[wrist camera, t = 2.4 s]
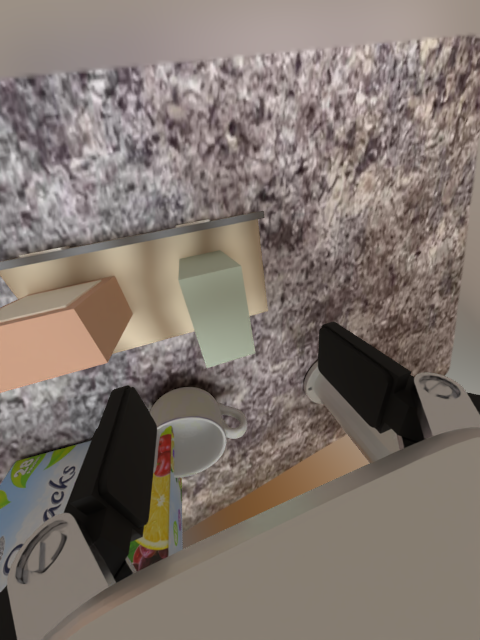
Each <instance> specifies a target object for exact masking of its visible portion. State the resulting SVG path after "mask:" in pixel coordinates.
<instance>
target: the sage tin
mask: <svg viewBox="0 0 480 640" xmlns="http://www.w3.org/2000/svg"><path fill="white" fill-rule="evenodd" d="M178 281H179V284H180V287H181V290H182V293H183V296H184V299H185V302H186V305H187V308H188V312H189V315H190V318H191V321H192V324H193V327H194V330H195V333H196V336H197V339H198V342H199V346H200V349H201V352H202V355H203V358H204V361H205V364H206V367H207V368H209V367H212V366H216V365H219V364H222V363H225V362H229V361H232V360H235V359H238V358H242V357H245V356H248V355H251V354H255V348H254V342H253V336H252V330H251V323H250V317H249V311H248V305H247V299H246V293H245V286H244V280H243V274H242V268H241V265H240V264H238V263H237V262H236V261H234V260H233V259H231V258H230V257H229V256H227V255H226V254H225V253H223V252H222V251H220V250H218V251H214V252H209V253H205V254H200V255H195V256H191V257H186V258H182V259H179V277H178Z"/></svg>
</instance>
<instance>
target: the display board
mask: <svg viewBox="0 0 480 640" xmlns="http://www.w3.org/2000/svg"><path fill="white" fill-rule="evenodd" d="M261 218H264V211H261V212H253V213H248V214H243V215H238V216H233V217H227V218H222V219H217V220H212V221H210V220H209V219H207V220H202V221H196V222H191V223H186V224H181V225H176V228H170V229H165V230H160V231H155V232H150V233H144V234H139V235H134V236H129V237H124V238H119V239H113V240H108V241H103V242H98V243H93V244H87V245H82V246H77V247H72V248H70V247H69V246H66V247H61V248H55V249H50V250H45V251H40V252H34V253H29V254H24V255H20V258H15V259H10V260H5V261H0V276H1V277H2V278H3V280H4V281H5V282H6V284H7V285H8V286H9V288H10V289H11V290H12V292H13V293H14V294H15V296H16V297H17V298H18V299H20V298H22V297H24V296H26V295H29V294H33V293H38V292H43V291H47V290H52V289H56V288H61V287H65V286H70V285H74V284H79V283H84V282H88V281H93V280H97V279H102V278H106V277H111V276H115V277H116V279H117V281H118V284H119V286H120V288H121V290H122V292H123V294H124V296H125V298H126V300H127V302H128V304H129V307H130V309H131V311H132V313H133V315H132V317H131V319H130V321H129V323H128V325H127V327H126V329H125V330H124V332H123V334H122V336H121V338H120V340H119V342H118V344H117V346H116V348H115V349H114V351H113V353H112V354H114V353H117V352H121V351H125V350H128V349H132V348H136V347H139V346H143V345H147V344H150V343H154V342H157V341H161V340H165V339H168V338H172V337H176V336H179V335H183V334H186V333H190V332H194V331H195V330H194V327H193V324H192V321H191V318H190V315H189V312H188V308H187V305H186V302H185V299H184V296H183V293H182V290H181V287H180V284H179V281H178V277H179V259H182V258H186V257H191V256H195V255H200V254H205V253H209V252H214V251H218V250H220V251H222V252H223V253H225V254H226V255H227V256H229V257H230V258H231V259H233V260H234V261H236V262H237V263H238V264H240V265H241V268H242V274H243V280H244V286H245V293H246V299H247V305H248V311H249V316H252V315H255V314H259V313H263V312H266V311H268V308H267V299H266V290H265V281H264V272H263V263H262V254H261V244H260V235H259V226H258V219H261Z"/></svg>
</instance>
